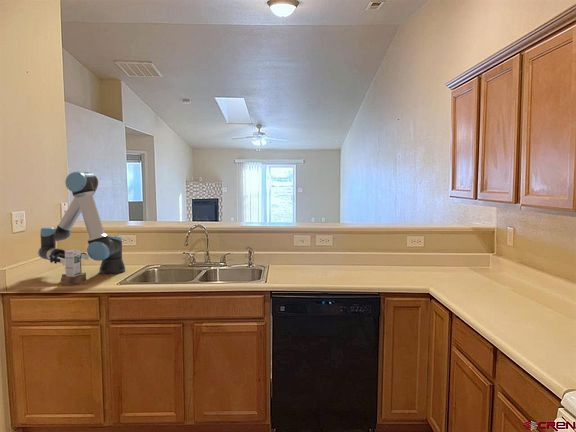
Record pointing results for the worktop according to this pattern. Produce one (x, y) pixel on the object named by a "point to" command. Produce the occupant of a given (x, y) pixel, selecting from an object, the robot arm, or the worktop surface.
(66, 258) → the syrup box
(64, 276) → the walnut base
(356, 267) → the worktop surface
